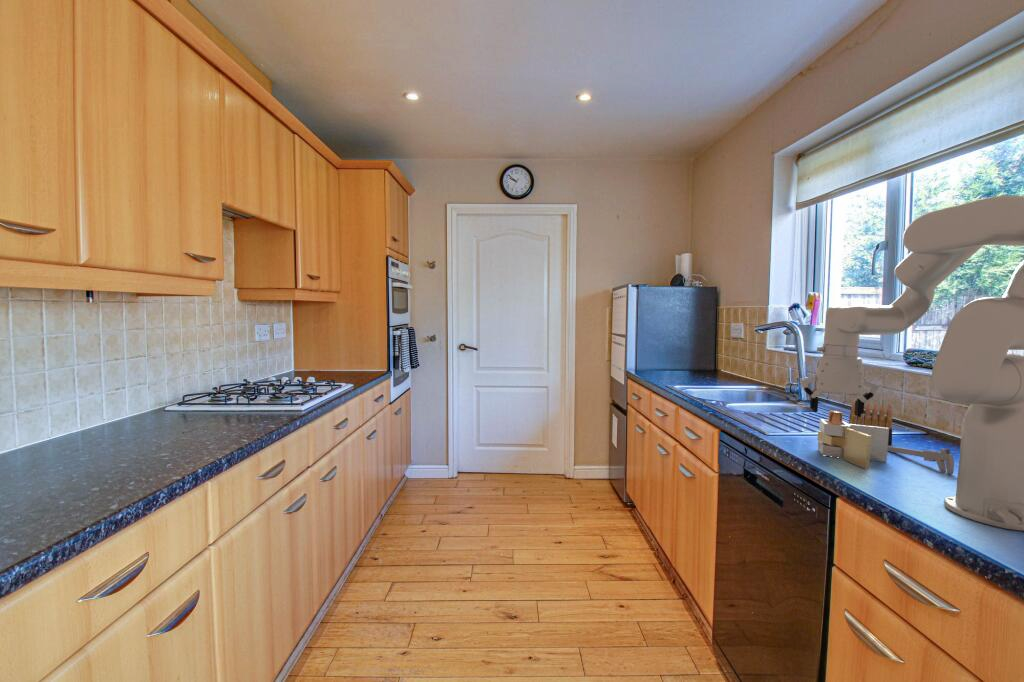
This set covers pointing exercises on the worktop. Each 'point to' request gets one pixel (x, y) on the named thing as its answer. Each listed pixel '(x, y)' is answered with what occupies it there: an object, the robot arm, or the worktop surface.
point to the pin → (835, 419)
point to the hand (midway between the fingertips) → (835, 413)
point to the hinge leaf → (851, 446)
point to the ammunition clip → (874, 418)
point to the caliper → (930, 457)
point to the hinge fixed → (877, 433)
